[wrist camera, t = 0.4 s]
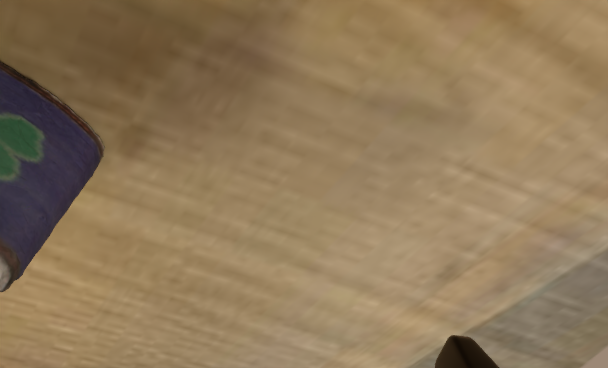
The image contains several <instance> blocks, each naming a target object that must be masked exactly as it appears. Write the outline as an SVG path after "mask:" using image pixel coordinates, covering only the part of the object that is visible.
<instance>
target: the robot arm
mask: <svg viewBox="0 0 608 368" xmlns="http://www.w3.org/2000/svg"><path fill="white" fill-rule="evenodd" d="M435 368H499V367H498V366H497V365H496V364H495V362H494V361H493V360H492V359H491V358H490V357H489V356H488V355H487V354H486V353H485V352H484V351H483V350H482V348H481V347H480V346H479V345H478V344H477V343H476V342H475V341H474V340H473V339H471V338H470V337H465V336H456V335H452V336H450V337H449V338H448V339H447V341H446V343H445V345H444V347H443V349H442V350H441V352H440V354H439V356H438V358H437V360H436V363H435Z"/></svg>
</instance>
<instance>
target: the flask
mask: <svg viewBox="0 0 608 368" xmlns="http://www.w3.org/2000/svg"><path fill="white" fill-rule="evenodd" d="M103 153H104V146H103V144H102V142H101V140H100V138H99V136H98V135H96V134H95V133H94V131H93V129H92V128H91V127H90V126H89V125H88V124H87V123H86V122H84V121H83V120H82V119H81V118H79V117H78V116H77V115H76V114H75V113H74V112H73V111H72V110H70V108H69V107H68V106H66V104H65V105H63V104H62V102H60V101H59V99H58V98H57V97H55V96H53V95H52V94H51V93H50V92H49V91H47V90H44V89H43V88H41V87H39V85H38V84H37V83H35V82H33V81H32V80H29V79H26V78H25V77H23V76H21V75H20V74H19V73H17V72H16V71H15V70H13V69H11V68H9V67H8V66H6V65H4V64H3V63H1V62H0V292H4V291H5V290H7V289H9V287H10V286H11V284H12V283H13V282H14V281H15V280H17V279H19V278H20V277H21V276H22V275H23V272H24V270H25V269H26V267H27V266H28V265H29V263H30V262H31V260H32V259H33V257H34V256H35V254H36V253H37V252H38V251H39V250H40V249H41V247H42V246H43V244H44V243H45V241H46V240H47V238H48V237H49V236H50V234H51V232H52V231H53V229H54V227H55V226H56V224H57V223H58V222H59V220H60V219H61V218H62V216H63V215H64V214H65V213H66V211H67V210H68V208H69V207H70V205H71V204H72V202H73V200H74V199H75V198H76V197H77V196H78V194H79V193H80V192H81V190H82V189H83V187H84V186H85V184H86V183H87V182H88V180H89V179H90V178H91V177H92V175H93V173H94V171H95V170H96V168H97V166H98V164H99V162H100V160H101V158H102V157H103Z"/></svg>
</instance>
